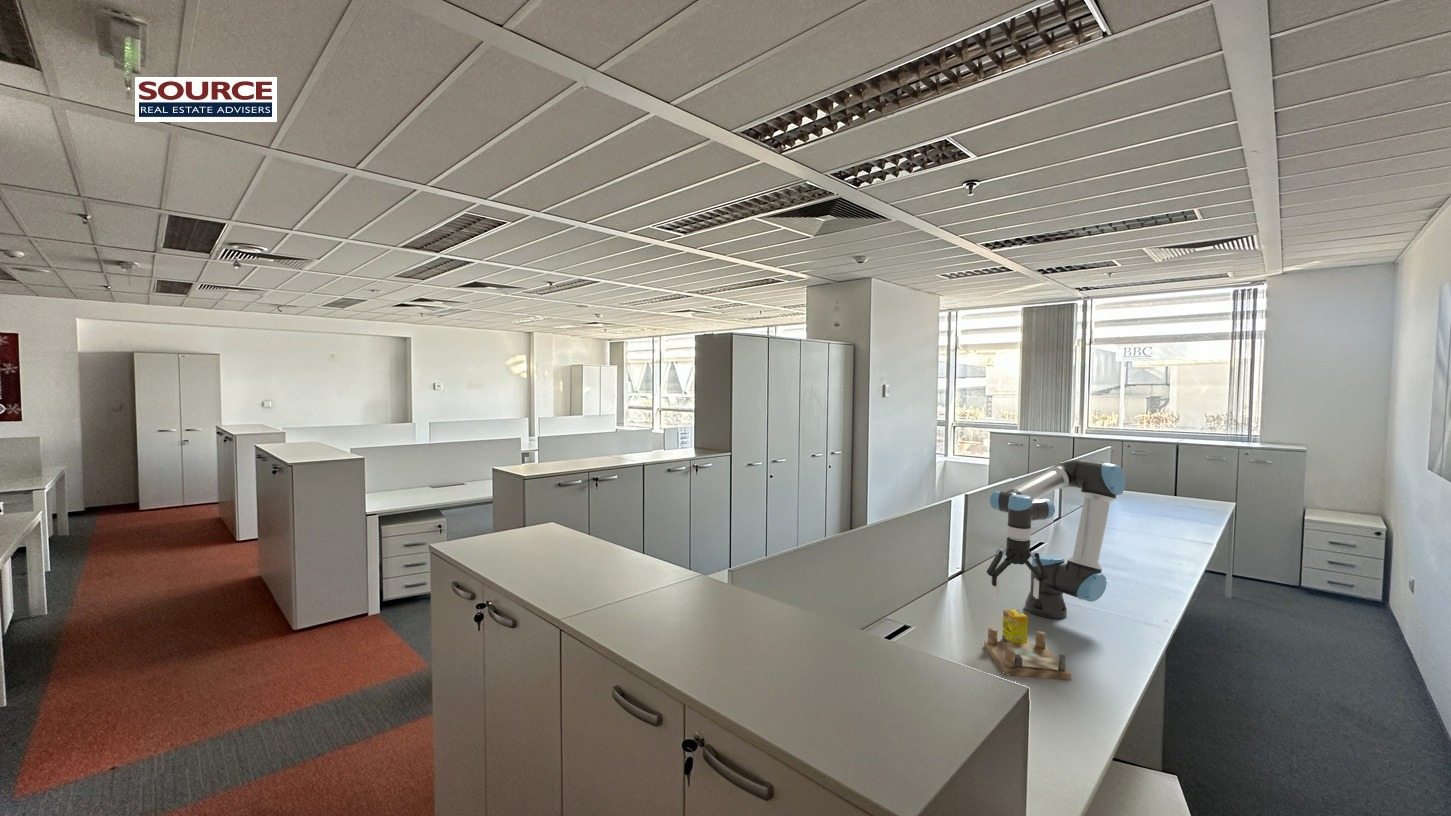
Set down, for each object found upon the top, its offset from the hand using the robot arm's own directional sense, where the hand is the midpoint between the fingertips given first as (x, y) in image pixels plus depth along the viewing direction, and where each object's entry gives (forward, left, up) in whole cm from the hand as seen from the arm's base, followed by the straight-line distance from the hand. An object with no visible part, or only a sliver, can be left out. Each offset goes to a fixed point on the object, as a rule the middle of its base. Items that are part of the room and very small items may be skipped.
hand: (1015, 596), depth 204 cm
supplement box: (0, 0, -17) cm, 17 cm away
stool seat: (+2, +15, -17) cm, 23 cm away
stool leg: (+2, +22, -15) cm, 27 cm away
